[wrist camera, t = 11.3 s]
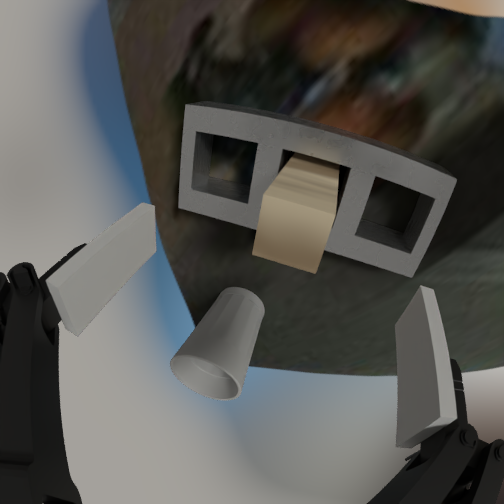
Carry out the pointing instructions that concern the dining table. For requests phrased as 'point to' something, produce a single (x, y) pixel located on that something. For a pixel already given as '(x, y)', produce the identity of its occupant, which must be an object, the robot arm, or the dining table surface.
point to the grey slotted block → (324, 147)
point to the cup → (221, 346)
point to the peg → (298, 213)
